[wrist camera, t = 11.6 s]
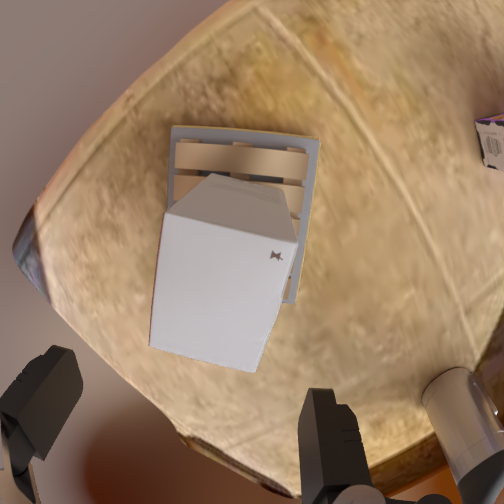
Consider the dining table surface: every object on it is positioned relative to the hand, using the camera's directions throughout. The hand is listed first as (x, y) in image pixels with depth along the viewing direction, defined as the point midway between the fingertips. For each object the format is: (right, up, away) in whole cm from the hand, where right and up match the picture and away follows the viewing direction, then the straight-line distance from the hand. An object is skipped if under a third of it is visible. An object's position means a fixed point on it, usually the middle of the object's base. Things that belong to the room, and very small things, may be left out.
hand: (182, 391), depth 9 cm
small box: (+1, +7, +18) cm, 19 cm away
